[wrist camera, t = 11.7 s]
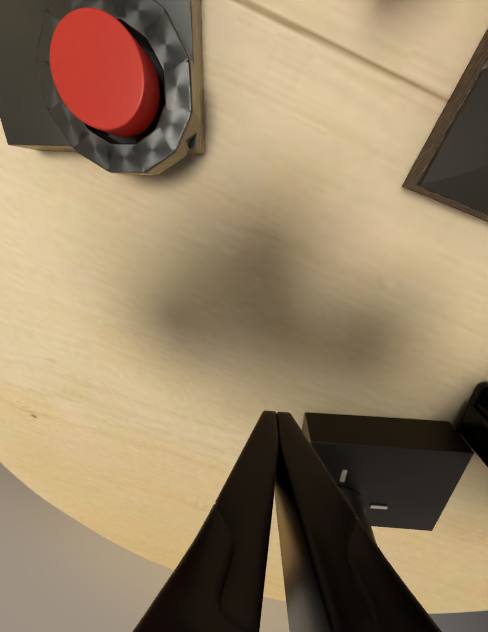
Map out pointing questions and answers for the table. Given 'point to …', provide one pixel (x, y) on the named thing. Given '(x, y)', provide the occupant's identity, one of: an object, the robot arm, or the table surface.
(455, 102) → the picture frame
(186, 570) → the robot arm
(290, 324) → the table surface
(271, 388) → the table surface
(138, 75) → the button
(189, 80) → the control block
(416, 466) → the panel
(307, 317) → the table surface
